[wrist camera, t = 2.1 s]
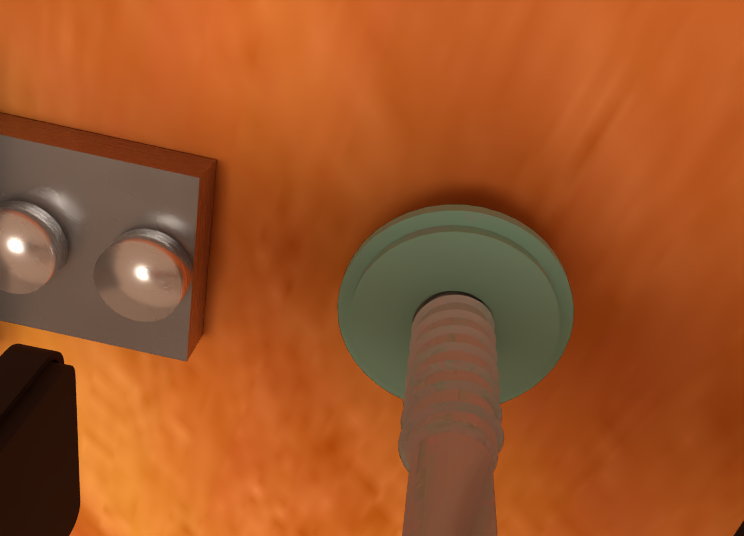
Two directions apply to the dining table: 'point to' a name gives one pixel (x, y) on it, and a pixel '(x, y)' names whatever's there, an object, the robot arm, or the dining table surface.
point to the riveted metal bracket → (103, 237)
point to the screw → (454, 346)
